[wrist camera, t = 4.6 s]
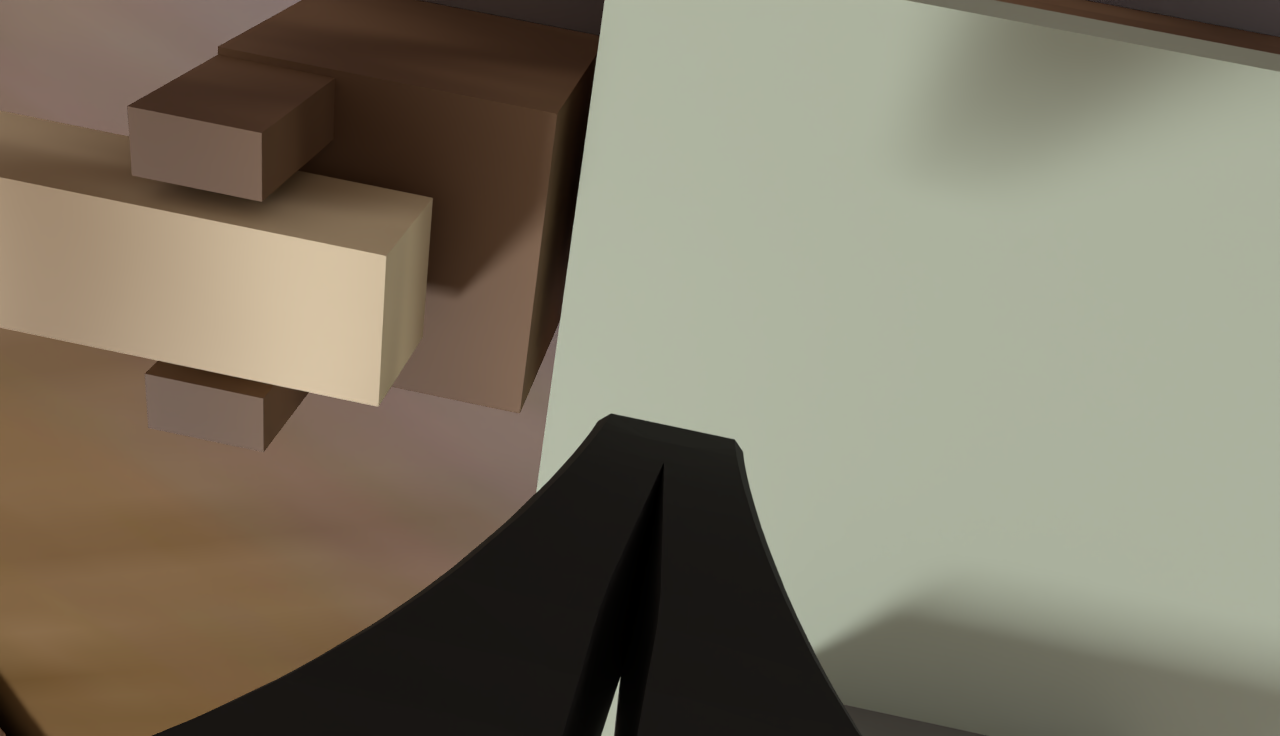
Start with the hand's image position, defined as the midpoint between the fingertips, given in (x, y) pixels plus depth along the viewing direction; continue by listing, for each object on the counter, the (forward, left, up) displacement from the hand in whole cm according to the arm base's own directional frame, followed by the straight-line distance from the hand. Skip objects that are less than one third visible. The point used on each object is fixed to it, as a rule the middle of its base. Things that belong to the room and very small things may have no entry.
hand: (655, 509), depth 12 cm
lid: (-5, +5, -5) cm, 9 cm away
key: (+7, 0, -4) cm, 8 cm away
